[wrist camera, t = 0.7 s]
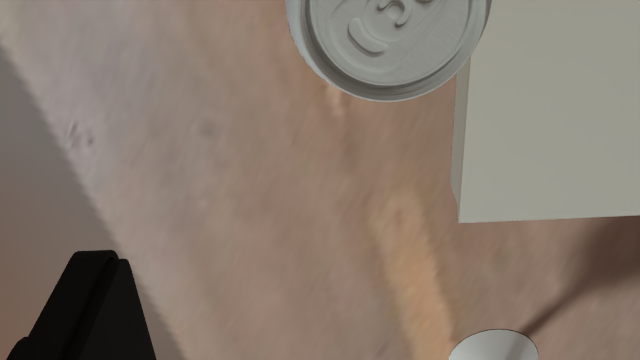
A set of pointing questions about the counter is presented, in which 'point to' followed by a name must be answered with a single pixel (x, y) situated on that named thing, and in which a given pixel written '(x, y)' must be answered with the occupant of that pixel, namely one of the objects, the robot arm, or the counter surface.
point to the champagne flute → (495, 347)
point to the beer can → (387, 42)
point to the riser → (550, 113)
